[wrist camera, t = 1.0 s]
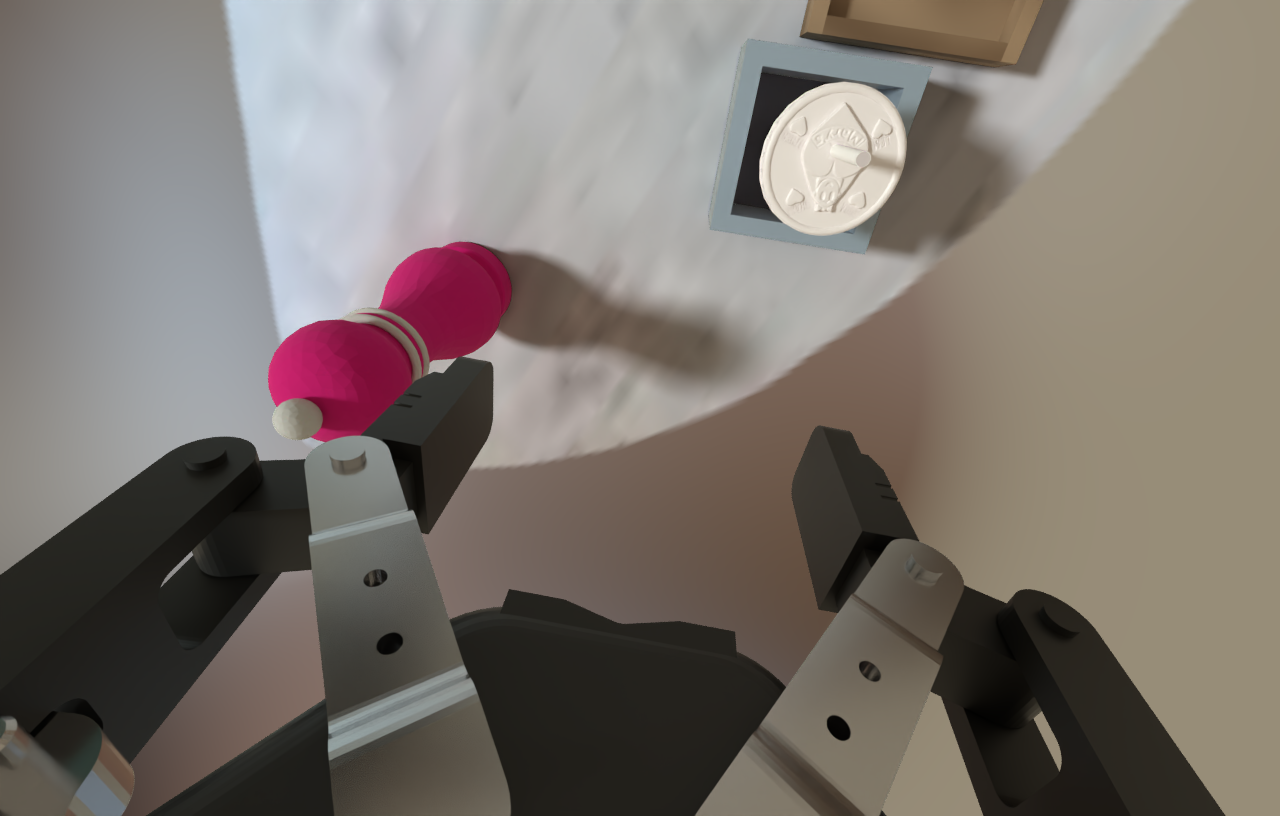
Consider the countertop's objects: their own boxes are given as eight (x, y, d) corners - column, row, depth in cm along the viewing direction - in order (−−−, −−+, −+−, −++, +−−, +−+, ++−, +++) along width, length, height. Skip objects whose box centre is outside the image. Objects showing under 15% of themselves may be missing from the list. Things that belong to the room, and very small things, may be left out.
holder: (741, 47, 29) (747, 38, 25) (901, 72, 29) (932, 67, 25) (708, 215, 34) (709, 229, 30) (845, 237, 33) (864, 254, 30)
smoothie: (863, 89, 29) (978, 76, 17) (838, 206, 33) (920, 264, 21) (751, 87, 30) (788, 72, 18) (738, 202, 33) (761, 257, 21)
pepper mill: (478, 214, 35) (269, 316, 18) (537, 303, 38) (406, 464, 21) (404, 263, 37) (156, 395, 20) (465, 344, 40) (294, 518, 23)
